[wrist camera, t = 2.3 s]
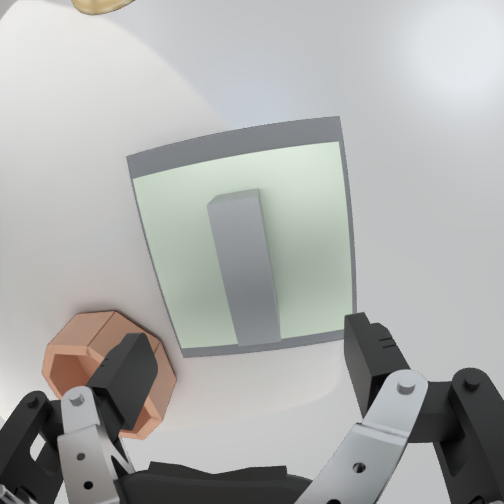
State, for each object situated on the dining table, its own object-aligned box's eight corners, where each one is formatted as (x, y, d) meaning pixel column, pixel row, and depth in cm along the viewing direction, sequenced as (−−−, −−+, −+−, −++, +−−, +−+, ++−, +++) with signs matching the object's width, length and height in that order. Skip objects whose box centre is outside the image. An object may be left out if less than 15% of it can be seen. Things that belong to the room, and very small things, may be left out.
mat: (130, 156, 17) (126, 156, 17) (337, 117, 16) (339, 116, 15) (185, 353, 22) (183, 357, 21) (354, 332, 21) (356, 336, 20)
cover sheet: (137, 177, 17) (108, 185, 14) (335, 141, 16) (353, 140, 12) (184, 342, 21) (171, 375, 17) (349, 321, 20) (364, 354, 16)
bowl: (56, 313, 22) (24, 343, 17) (150, 305, 21) (123, 345, 16) (99, 395, 25) (80, 429, 20) (187, 399, 24) (176, 442, 19)
